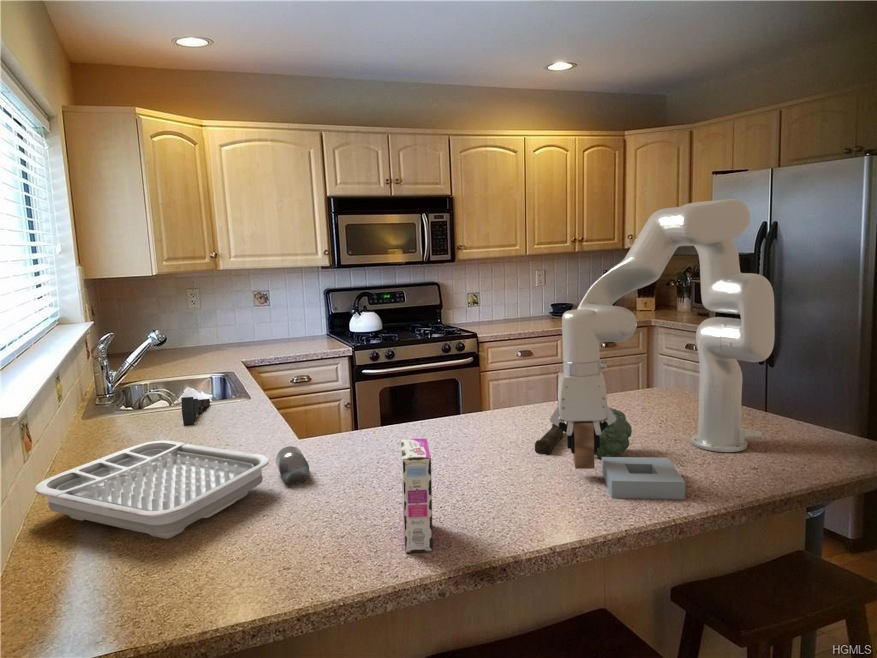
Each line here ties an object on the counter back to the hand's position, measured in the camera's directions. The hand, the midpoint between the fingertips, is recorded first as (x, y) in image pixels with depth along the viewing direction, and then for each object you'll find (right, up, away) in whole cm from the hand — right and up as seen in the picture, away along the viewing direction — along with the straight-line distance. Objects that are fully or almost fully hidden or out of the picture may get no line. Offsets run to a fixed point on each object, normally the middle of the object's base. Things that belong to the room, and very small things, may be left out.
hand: (583, 450), depth 132 cm
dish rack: (-88, -10, -7) cm, 89 cm away
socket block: (+11, -6, -4) cm, 13 cm away
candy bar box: (-35, -11, -24) cm, 44 cm away
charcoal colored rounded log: (-2, -4, +25) cm, 25 cm away
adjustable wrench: (-108, -2, +63) cm, 125 cm away
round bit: (-66, -4, +9) cm, 66 cm away
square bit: (0, -3, +1) cm, 3 cm away
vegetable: (+8, -4, +17) cm, 19 cm away
